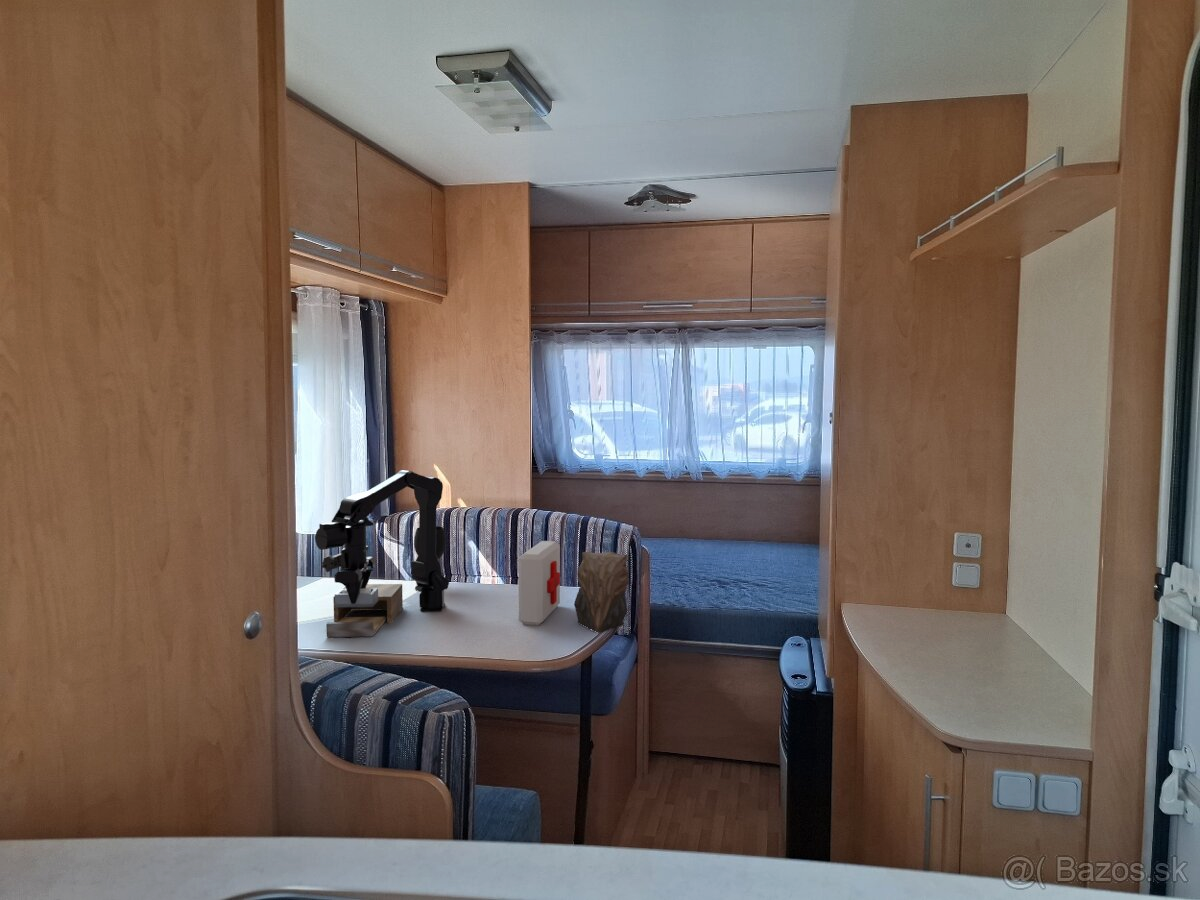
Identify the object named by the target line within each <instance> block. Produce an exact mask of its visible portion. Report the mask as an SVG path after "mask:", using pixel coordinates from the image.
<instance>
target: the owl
mask: <svg viewBox="0 0 1200 900" xmlns="http://www.w3.org/2000/svg"><path fill="white" fill-rule="evenodd" d="M581 556H582V561H581V563H580V565H579V567H578V569H577V581H578V584H579V588H578V592H577V594H576V597H575V601H574V604H573V607H574V609H575V614H576V617H577V624H578V623H580V624H582V625H581V626H583V625H584V626H586V627H588V628H589V629H592V630H594V631H596V632H598V633H597V634H600V633H603V632H607V631H609V630H611V629H615V628H617V627H621V626H623V625H624V624H625V623H624V619H625V617H626V615H627V613H628V607H627V599H626V591H627V587H628V585H629V569H628V567H627V566H628V565H627V561H628V554H620V553H617V552H614V551H606V552H592V551H582V553H581ZM580 624H579V625H580ZM586 627H585V628H586ZM588 628H587V629H588ZM589 629H588V630H589ZM594 631H593V632H594ZM596 632H595V633H596Z"/></svg>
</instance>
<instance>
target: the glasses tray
mask: <svg viewBox="0 0 1200 900" xmlns="http://www.w3.org/2000/svg"><path fill="white" fill-rule="evenodd" d="M334 596H335V607H373V606H374V605H375V604H376V603H377V602H378V588H361V589H360V592H359V595H358V598H357V601H356V603H355V604H351V601H350V598H349V595H348V592H347V589H343V588H340V589H339V590H338V591H337V592H335V594H334Z"/></svg>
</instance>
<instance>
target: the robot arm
mask: <svg viewBox="0 0 1200 900" xmlns="http://www.w3.org/2000/svg"><path fill="white" fill-rule="evenodd" d="M406 488H409V489H411V490H413V493H414V495H413V496H414V498H415V500H416V502H417V505H418V509H419V519H418V520H419V521H418V522H419V523H418V528H419V555H417V557H416V559H415V560H412V561H410V562H411V563H410V566H411V571H410V575H412V580H413V581H415V584H416V586H418V587H421V588H422V589H421V591H420V593H419V594H418V595H419V596H418V597H419V611H421V612H424V611H425V612H428V611H429V612H433V611H434V612H435V611H439V612H441V611H443V610H444V608H445V607H446V603H445V590H448V589H449V584H450V581H449V580H448V578H446V577H445V576H444V575H443V573H442V567H441V566H442V565H441V562H440V560H439V559H438V558H437V556H436V526H437V506H438V505H439V503H440V501H441V499H442V496H443V489H444V484H443V482H442V481H441V479H440V478H438V477H433V476H432V477H431V476H425V475H422V474H418V473H416V472H414V471H412V470H411V471H410V470H403V469H402V470H399V471H398V472H397V473H395V474H394V475H392V476H390V477H389V478H387V479H386V480H384V481H383V482H380V483H378V484H377V485H375V486H374V487H372V488H371V489H369V490H367V491H365V492H359V493H356V494H352V495H349V496H347V497H345V498H343V499H342V500H341V501H340V505H339V508H338V509H337V511H336V513H335V514H334V516H333V518H332V519H331V522H325V523H324V522H322V523H319V524H318V525H319V526H318V527H319V528H318V529H317V530H316V532H315V535H314V540H315V541H314V542H315V545H316V547H317V549H319V550H321V551H322V550H330V549H334V548H339V547H343V546H344V547H343V548H342V549H341V550H340V553H336V554H335V555H328V556H325V557H323V560H322V562H321V568H322V569H324V570H325V572H326V573H329V572H331V571H332V570H335V569H338V568H340V569H339V570H338V571H337V572H336V573H335V574H334V583H339V584H341V585H343V586H344V588H345V587H346V589H347V592H348V595H349V598H350V601H351V604H355V603H356V601H357V598H358V595H359V592H360V589H361V588H366V586H367V584H369V581H370V578H371V576H372V574H373V572H374V568H376V567H377V561H376V559H375V557H373V556H367V553H368V552H367V551H368V550H369V548H370V547H369V545H367V527H371V526H372V527H373V525H374V522H372V521H371V520H370V519H369V518H368V517H369V516H370V515H371V514H372V513H373V512H374V510H375V509H376V507H377V506H378V505H379V504H380V503H383V502H384V501H387V499H389V498H390V497H392V496H394V495H395V494H397V493H399V492H400V491H402V490H404V489H406ZM369 567H370V569H369Z"/></svg>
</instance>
